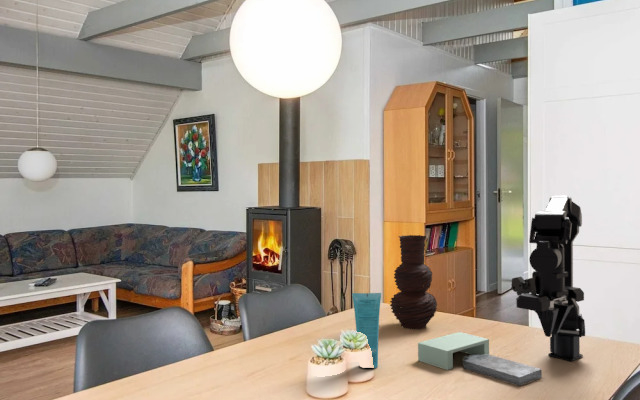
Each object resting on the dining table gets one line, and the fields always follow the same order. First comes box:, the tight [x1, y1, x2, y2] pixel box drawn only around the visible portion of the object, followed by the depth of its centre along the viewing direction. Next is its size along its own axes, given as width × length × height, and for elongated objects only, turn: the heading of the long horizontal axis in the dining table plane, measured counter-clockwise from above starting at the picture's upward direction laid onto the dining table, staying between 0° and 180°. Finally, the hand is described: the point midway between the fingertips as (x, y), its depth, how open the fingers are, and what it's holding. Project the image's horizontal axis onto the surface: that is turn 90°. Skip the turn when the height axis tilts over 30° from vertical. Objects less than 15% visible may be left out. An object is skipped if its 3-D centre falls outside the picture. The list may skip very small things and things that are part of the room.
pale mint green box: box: [417, 331, 490, 371], centre depth 151 cm, size 10×17×5 cm, turn 127°
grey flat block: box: [462, 353, 543, 387], centre depth 140 cm, size 18×9×2 cm, turn 37°
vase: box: [389, 234, 438, 330], centre depth 186 cm, size 15×15×30 cm
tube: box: [351, 292, 382, 369], centre depth 146 cm, size 7×5×19 cm, turn 96°
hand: (551, 335), depth 128 cm, fingers open, 2 cm apart
